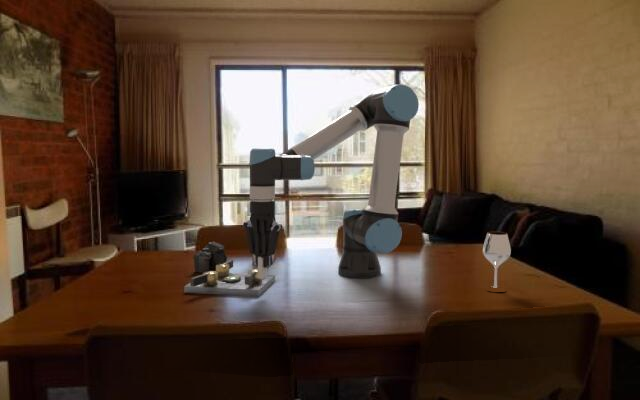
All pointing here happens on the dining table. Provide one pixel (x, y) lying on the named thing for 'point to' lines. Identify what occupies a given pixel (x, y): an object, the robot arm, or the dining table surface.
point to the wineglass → (496, 250)
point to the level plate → (232, 286)
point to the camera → (209, 257)
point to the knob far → (224, 268)
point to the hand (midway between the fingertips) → (262, 277)
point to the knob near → (205, 279)
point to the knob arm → (252, 277)
